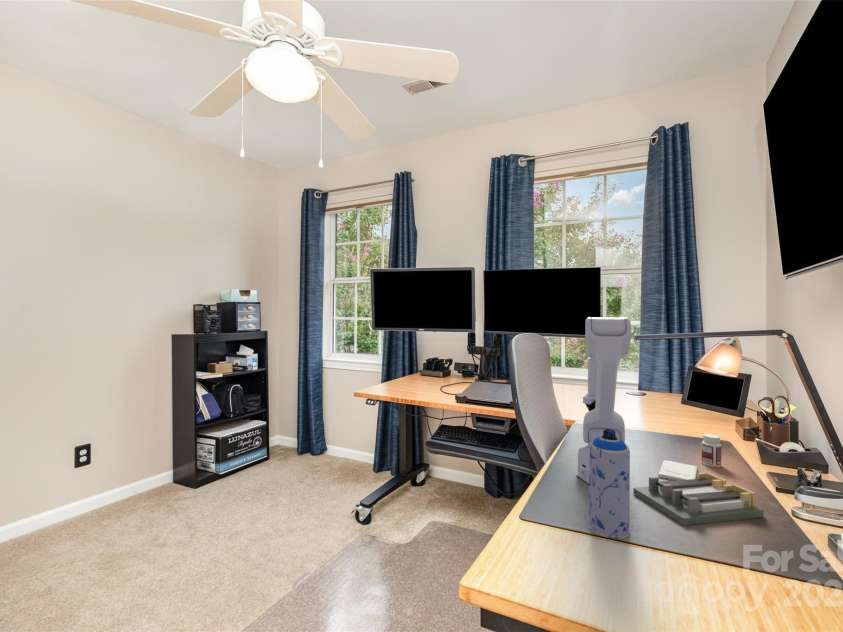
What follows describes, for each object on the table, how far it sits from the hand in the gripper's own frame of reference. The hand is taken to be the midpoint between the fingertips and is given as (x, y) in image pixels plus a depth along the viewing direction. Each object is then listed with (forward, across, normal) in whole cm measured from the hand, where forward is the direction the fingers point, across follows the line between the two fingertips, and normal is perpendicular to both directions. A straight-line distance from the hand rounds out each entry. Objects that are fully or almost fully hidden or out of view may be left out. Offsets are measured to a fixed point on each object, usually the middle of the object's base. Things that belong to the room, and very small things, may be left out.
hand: (597, 424), depth 123 cm
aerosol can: (+11, -37, -20) cm, 43 cm away
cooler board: (+10, -12, -28) cm, 33 cm away
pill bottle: (+11, +21, -24) cm, 33 cm away
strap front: (+7, -13, -32) cm, 35 cm away
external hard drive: (+11, +6, -20) cm, 23 cm away
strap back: (+7, -9, -26) cm, 28 cm away
